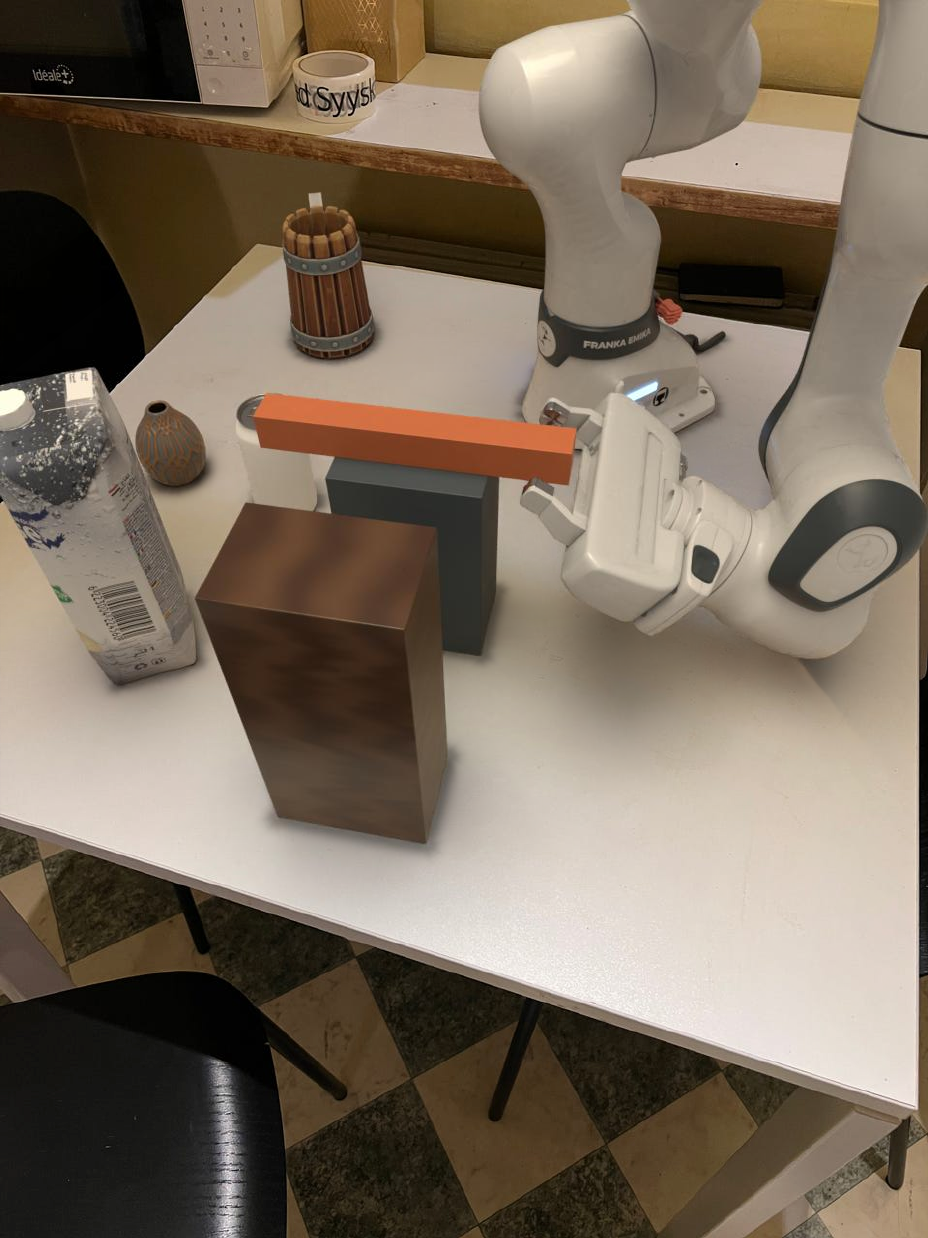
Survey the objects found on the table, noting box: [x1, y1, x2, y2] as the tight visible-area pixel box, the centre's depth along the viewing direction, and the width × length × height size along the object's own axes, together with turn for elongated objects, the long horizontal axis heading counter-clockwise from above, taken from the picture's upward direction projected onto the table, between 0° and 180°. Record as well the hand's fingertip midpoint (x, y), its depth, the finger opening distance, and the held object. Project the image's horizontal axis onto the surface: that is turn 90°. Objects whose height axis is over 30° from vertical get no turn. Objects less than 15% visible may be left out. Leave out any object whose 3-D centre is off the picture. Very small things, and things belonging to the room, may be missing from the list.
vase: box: [134, 399, 207, 487], centre depth 91 cm, size 7×7×9 cm
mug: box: [281, 192, 375, 359], centre depth 107 cm, size 16×11×15 cm
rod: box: [253, 392, 577, 486], centre depth 65 cm, size 24×3×3 cm, turn 79°
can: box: [235, 392, 318, 511], centre depth 86 cm, size 6×6×12 cm
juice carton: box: [0, 366, 197, 685], centre depth 69 cm, size 9×10×27 cm
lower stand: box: [324, 457, 500, 657], centre depth 74 cm, size 12×8×19 cm, turn 79°
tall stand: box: [194, 501, 448, 844], centre depth 59 cm, size 12×8×26 cm, turn 79°
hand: (534, 447), depth 64 cm, fingers open, 8 cm apart
